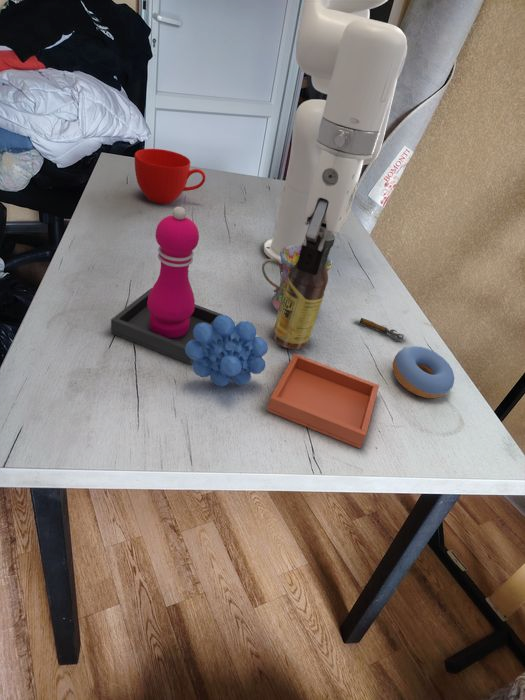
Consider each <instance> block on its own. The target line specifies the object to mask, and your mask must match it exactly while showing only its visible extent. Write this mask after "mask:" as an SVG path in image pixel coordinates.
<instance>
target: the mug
mask: <svg viewBox="0 0 525 700" xmlns="http://www.w3.org/2000/svg"><path fill="white" fill-rule="evenodd" d="M301 248H302V245H290V246H286V247H284V248H283V249H282V250H281V251H280V256H281V261H282V264H280V262H279V261H277V260H275V259H270V258H267V259H265V260H264V261H263V263H262V265H261V271H262V274H263V276H264V278H265V280H266V281H267V282H268V283H269V284H270V285H271V286H272V287H274V288H275V289H273V293H274V294H273V295H272V297H271V304H272V306H273V307H274V309H276V310H277V312H278V311H279V307H280V303H281V300H282V295H283V292H284V289H285V285H286V282H287V278H288V275H289V273H290V272H291V270H292V269H293V267H294V266H295V264H296V263H297V262H298V259H299V255H300V251H301ZM268 263H275V264H277V265H278V267H279V272H280V273H281V279H280V283H279V285H278V284H276V283H275V282H273V281H272V280H271V279H270V278H269V276H268V275H267V273H266V270H265V266H266V265H267V264H268ZM325 265H326V269H327V272H329V271H330V269H331V268H332V266H333V261H332V259H331V258H330V257H329V256H328V258H327V262H326V264H325Z"/></svg>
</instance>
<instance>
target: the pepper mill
mask: <svg viewBox="0 0 525 700" xmlns="http://www.w3.org/2000/svg"><path fill="white" fill-rule="evenodd" d="M186 215H187V211H186V209H185V208H184V207H183V206H176V207H175V208H173V210H172V215H168V216H166V217H163V218H162V219H161V220H160V221H159V222H158V224H157V226H156V229H155V240H156V242H157V244H158V246H159V247H158V249H157V252H158V254H157V259H158V260H159V261H160V271H159V275H158V278H157V279H156V281H155V282H154V284H153V286H152V287H151V288H152V289H151V288H150V289H151V291H150V293H149V296H148V302H147V306H148V309H149V311H150V313H151V315H150V323H149V326H150V329H151V330H152V331H153V332H154V333H156V334H158V335H161V336H163V337H166V338H178V337H181V336H183V335H185V334H186V333H187V332H188V330H189V324H190V318H189V317H190V316H191V315H192V314H193V312H194V309H195V304H196V300H195V294H194V292H193V288H192V286H191V283H190V279H189V268H190V265H191V264H192V263H193V261H194V250H195V249H196V248H197V246H198V244H199V241H200V232H199V228H198V227H197V224H196V223H194V221H193V220H192V219H190V218H188V217H187V216H186Z"/></svg>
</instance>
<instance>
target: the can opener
mask: <svg viewBox="0 0 525 700" xmlns="http://www.w3.org/2000/svg"><path fill="white" fill-rule="evenodd" d="M359 324H361V325H363V326H365V327H367V328H370V329H374V330H376V331H379V332H381V333H382V334H383V333H384V334H388V335H389V337H391V339H393V340H396V341H398V342H406V340H405V339H403V338H404V336H405V335H404V334H402V333H398V332H397V330H396V329H390V330H389V328H387V327H386V326H383V325H380V324H378V323H375V322H374V321H372V320H369V319H366V318H364V317H360V320H359Z"/></svg>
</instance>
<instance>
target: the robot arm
mask: <svg viewBox="0 0 525 700" xmlns="http://www.w3.org/2000/svg"><path fill="white" fill-rule="evenodd" d="M388 1H389V0H304V1H303V5H302V9H301V14H300V18H299V25H298V29H297V35H296V41H295V60H296V63H297V66H298V68H299V69H300V70H301V72H303V73H304V74H306V75H308V76H311V79H310V80H311V84H312V87H313V88H314V90H316V91H317V92H320V93H322V94H324V95H327V96H326V99H317V98H316V99H314V98H313V99H307V100H305V101H303V102H302V103H300V104H299V105H298V107H297V108H296V111H295V113H294V117H293V124H292V133H291V135H292V136H291V146H290V154H289V161H288V166H287V171H286V176H285V181H284V186H283V190H282V193H281V198H280V204H279V208H278V212H277V216H276V222H275V227H274V230H273V236H272V238H270V239H268V240H266V241H265V242H264V244H263V253H264V254H265V255H266V256H267V257H268V259H275V260H277V261H279V262H280V264H281V265H282V261H281V256H280V251H281V250H282V249H283V248H284V247H286V246H290V245H302V248H301V251H300V255H299V259H298V263H297V269H298V270H301V271H304V272H307V273H310V274H313V275H316V274H317V273H318V270H319V267H320V264H321V260H322V257H323V253H324V249H323V246H324V243H325V240H326V237H327V234H328V231H330V232H331V233H332V234H334V235H335V234H337V233H338V232H339V231H340V230H341V228H342V227H343V225H344V224H345V222H346V221H347V219H348V218H349V216H350V213H351V209H352V206H353V201H354V198H355V195H356V191H357V187H358V184H359V181H360V177H361V174H362V169H363V166H364V165H366V166H367V165H370V164H372V163H373V162H375V161H376V160H377V158H378V156H379V155H380V152H381V149H382V145H383V142H384V138H385V135H386V131H387V126H388V122H389V118H390V113H391V108H392V104H393V99H394V96H395V92H396V88H397V83H398V79H399V77H400V75H401V73H402V71H403V68H404V65H405V63H406V58H407V54H408V43H407V42H408V41H407V37H406V35H405V33H404V32H403V30H402V29H401V28H399V27H398V26H397V25H394V24H391V23H387V22H384V21H380V20H375V19H371V18H370V10H371V9H375V8H377V7H379V6H382V5H383V4H385V3H386V2H388ZM319 232H323V234H322V237H321V236H320V235H318V234H319Z"/></svg>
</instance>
